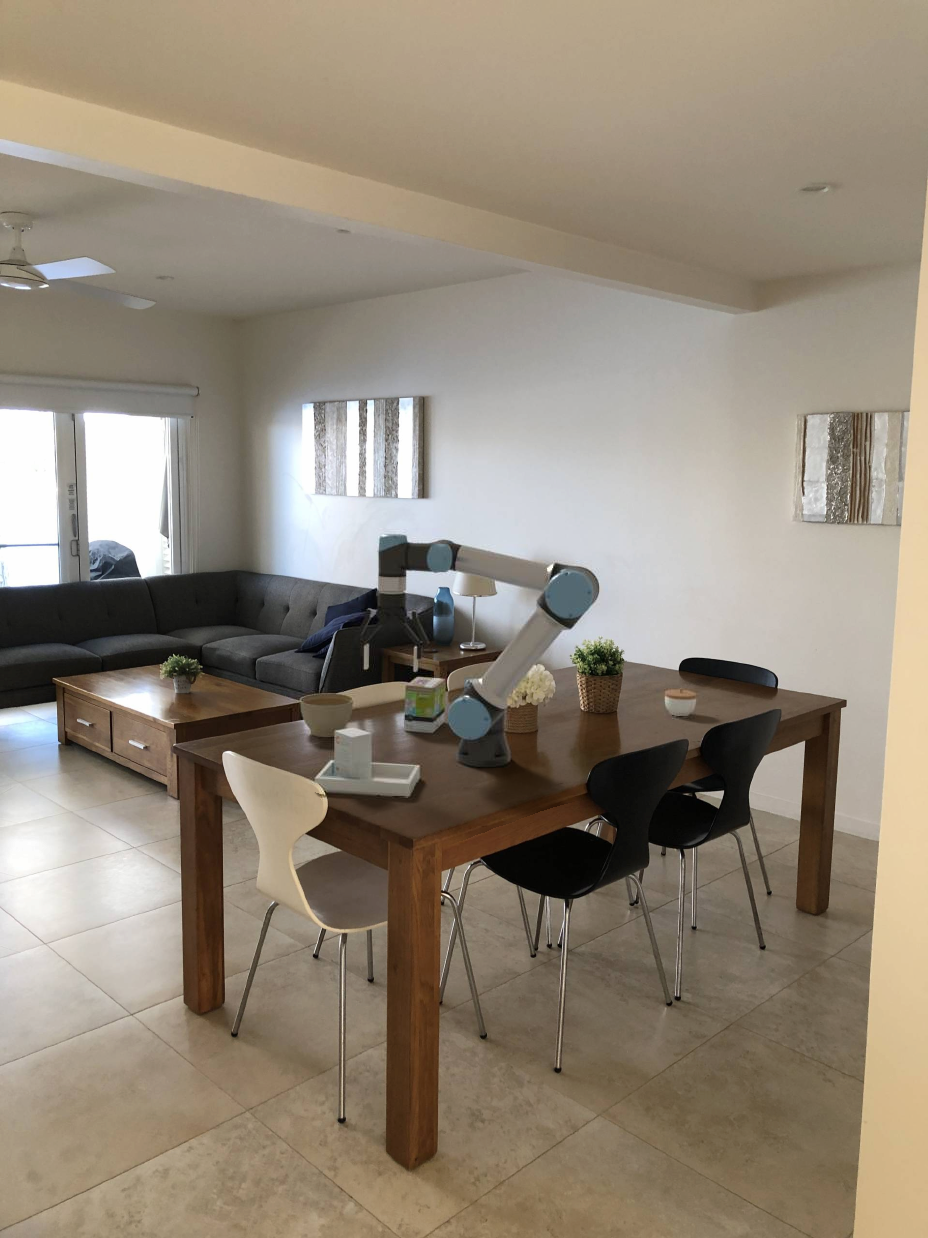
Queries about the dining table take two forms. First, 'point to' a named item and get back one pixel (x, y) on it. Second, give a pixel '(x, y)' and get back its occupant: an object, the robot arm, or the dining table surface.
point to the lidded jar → (680, 702)
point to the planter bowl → (326, 713)
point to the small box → (353, 753)
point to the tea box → (424, 704)
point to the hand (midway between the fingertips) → (390, 669)
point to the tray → (372, 780)
